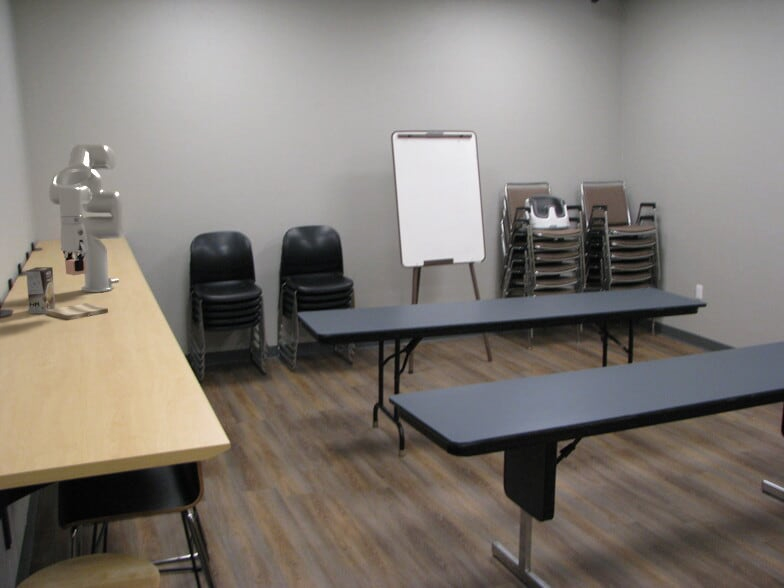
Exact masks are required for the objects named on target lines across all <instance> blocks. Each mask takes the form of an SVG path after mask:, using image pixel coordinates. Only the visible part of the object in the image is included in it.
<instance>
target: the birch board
mask: <svg viewBox="0 0 784 588" xmlns="http://www.w3.org/2000/svg"><path fill="white" fill-rule="evenodd" d="M105 312H107V313H109V308H107V307H103V306H99V305H95V304H91V303H87V302H86V303H85V302H84V303H80V304H73V305H68V306H67V305H66V306H62V307H57V308H56V307H55V309H50V310H47V313H46V314H47V315H49V316H52V317H57V318H61V319H65V320H67V319H68V321H69V320H74V318H76V319H79V318H78V317H81V318H84V317H83V316H86V317H89V316H88V315H91V316H94V315H93V314H96V315H100V313H102V314H106V313H105Z"/></svg>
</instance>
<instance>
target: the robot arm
mask: <svg viewBox="0 0 784 588" xmlns="http://www.w3.org/2000/svg"><path fill="white" fill-rule="evenodd" d="M69 156H70V157H69V161H68V165H67V166H66V167H65V168H63V169H62V170H60V171H58V172H57V173H55V174H54V176H53V177H52V179H51V181H50V186H49V191H48V196H49V200H50V202H51V203H52V204H53V205H56V206H59V214H60V215H59V216H60V244H61V245H60V246H61V247H60V249H61V251H62V253H63V255H64V259H65V260H72V259H76V260H75V271H83V270H84V263H83V260H85V261H86V274H84V286H82V287H81V291H82V292H85V293H101V292H102V293H103V292H110V291H112V290H113V289H114V286H113V284H119V282H120V281H119V278H113V279H112V278H110V277H109V263H108V261H109V260H108V249H107V247H106V244H104V243H103V241H101V240H103V239H106V240H107V239H113V240H116V239H120V238H122V237H123V236H124V231H125V230H124V229H125V228H124V210H123V209H124V207H123V206H124V205H123V199H122V195H121V194H120V192H119V191H116V190H106V189H105V190H104V188H103V187H104V186H103V178H102V176H101V175H100V172H98V171H99V170H100V171H101V170H102V171H104V170H105V171H107V170H108V171H109V170H113V169H114V168H115V166H116V164H117V158H116V154H115V151H114V150H113V149H112V148H111V147H110V146H108V145H106V144H103V143H101V144H100V143H80V144H75V145H74V146H73V147H72V149H71V151H70V152H69ZM97 170H98V171H97ZM83 211H84V212H85V213H90V214H110V215H111V216H110V215H109V216H107V215H106V216H103V215H89V216H84V215H83V214H84V212H83Z"/></svg>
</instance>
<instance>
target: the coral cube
mask: <svg viewBox="0 0 784 588" xmlns="http://www.w3.org/2000/svg"><path fill="white" fill-rule="evenodd" d="M75 260H76V259H75V258H74V259H72V260H65V261H64V264H65V274H66V275H71V276H79V275H85V274H86V261H85V260H83V263H84V270H83V271H75Z"/></svg>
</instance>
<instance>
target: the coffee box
mask: <svg viewBox="0 0 784 588" xmlns="http://www.w3.org/2000/svg"><path fill="white" fill-rule="evenodd" d="M25 272H26V283H27V284H26V285H27V297H28V298H27V299H28V300H27V301H28V312H29V314H47V310H50V309H56V303H55V300H56V299H55V287H54V285H55V284H54V273H53V267H50V266H49V267H48V266H45V267H43V266H40V267H39V266H38V267H36V266H35V267H33V268H30V269H28V270H26V271H25Z"/></svg>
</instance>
